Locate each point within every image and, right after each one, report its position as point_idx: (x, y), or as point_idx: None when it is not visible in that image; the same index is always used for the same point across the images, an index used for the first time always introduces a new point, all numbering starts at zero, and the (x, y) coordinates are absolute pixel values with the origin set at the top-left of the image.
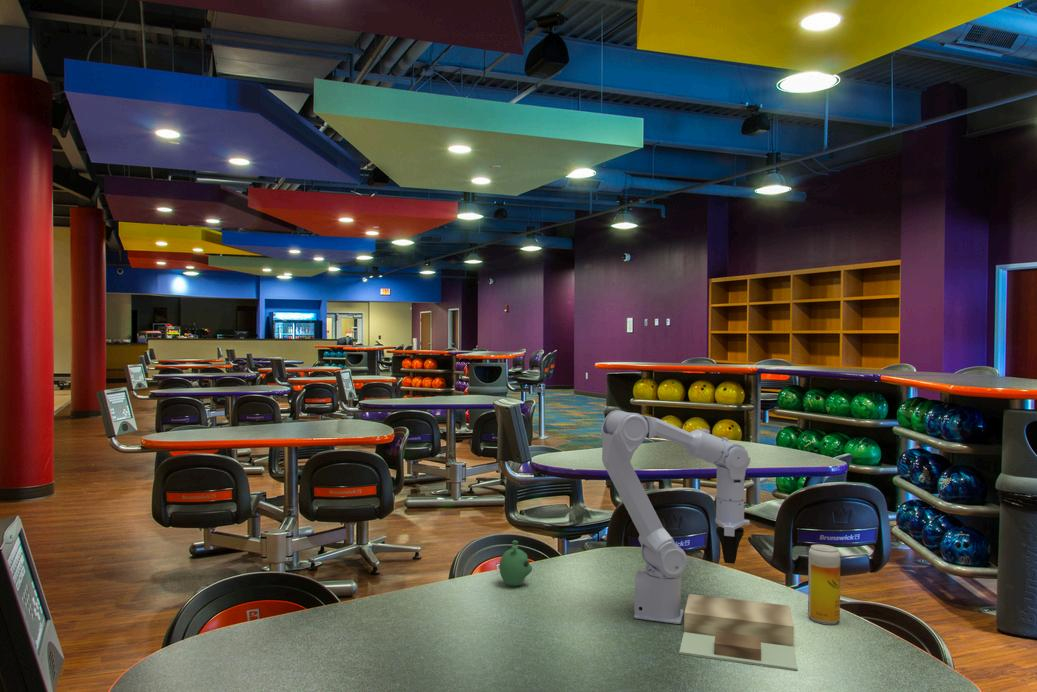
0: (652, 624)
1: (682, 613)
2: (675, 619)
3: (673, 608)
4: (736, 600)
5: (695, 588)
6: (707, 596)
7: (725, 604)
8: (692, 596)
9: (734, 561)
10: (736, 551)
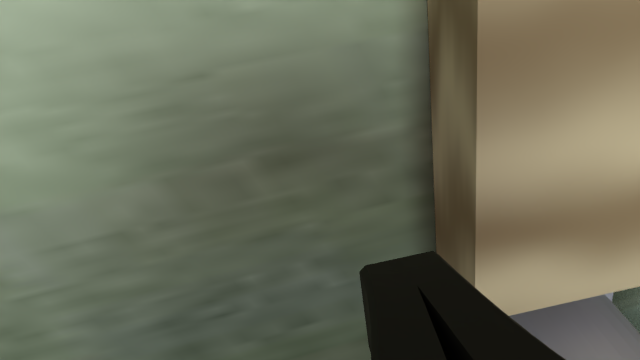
0: (626, 317)
1: None
2: None
3: (618, 312)
4: (502, 59)
5: (4, 342)
6: (483, 236)
7: (611, 107)
8: (514, 297)
9: (448, 267)
10: (548, 350)
